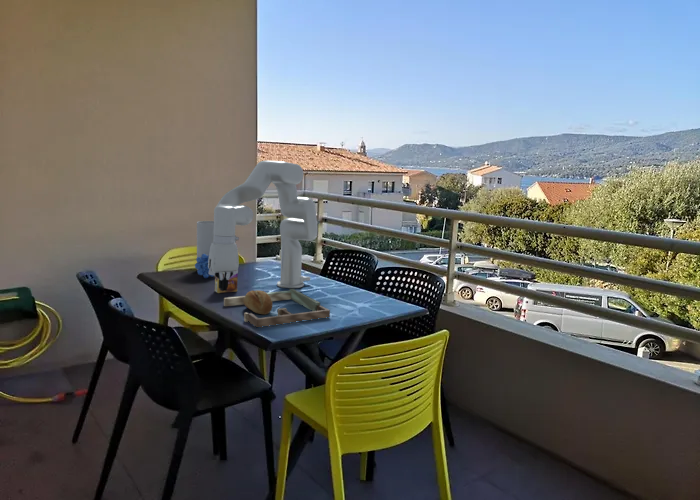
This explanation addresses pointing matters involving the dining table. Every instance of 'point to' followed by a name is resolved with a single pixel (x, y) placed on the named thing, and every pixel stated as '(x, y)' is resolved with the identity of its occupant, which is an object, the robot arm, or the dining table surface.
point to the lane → (278, 296)
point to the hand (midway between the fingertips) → (223, 289)
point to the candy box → (231, 284)
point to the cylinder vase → (204, 237)
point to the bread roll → (258, 302)
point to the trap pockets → (289, 317)
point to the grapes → (203, 266)
